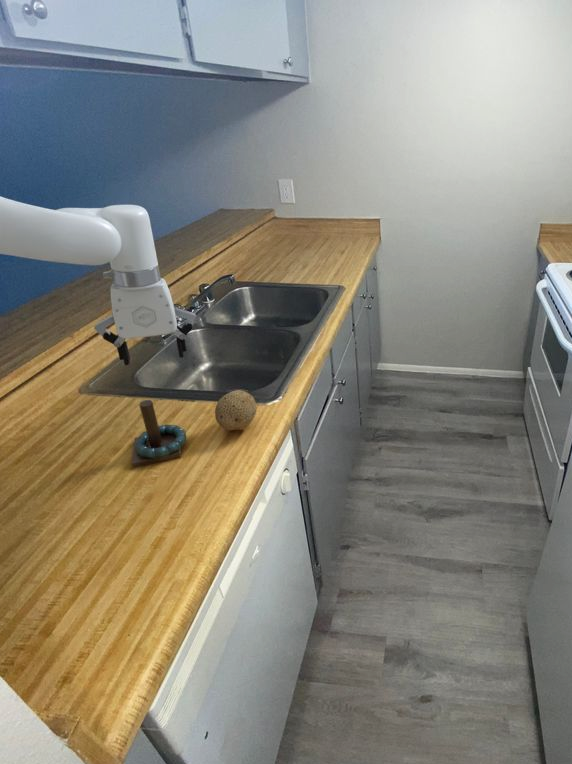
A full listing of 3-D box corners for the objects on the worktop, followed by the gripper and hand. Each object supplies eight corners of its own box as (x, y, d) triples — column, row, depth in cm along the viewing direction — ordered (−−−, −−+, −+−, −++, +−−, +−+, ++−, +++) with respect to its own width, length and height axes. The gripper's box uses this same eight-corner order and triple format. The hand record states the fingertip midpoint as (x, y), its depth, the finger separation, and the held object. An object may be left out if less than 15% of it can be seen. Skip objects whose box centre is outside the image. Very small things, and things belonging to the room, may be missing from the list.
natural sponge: (242, 445, 105) (236, 409, 100) (209, 436, 107) (202, 399, 103) (266, 423, 112) (262, 387, 108) (235, 414, 115) (229, 379, 110)
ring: (134, 464, 97) (132, 457, 96) (137, 436, 105) (135, 428, 104) (187, 452, 100) (185, 445, 99) (186, 426, 108) (184, 419, 107)
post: (133, 467, 97) (119, 419, 92) (135, 441, 105) (122, 396, 99) (180, 457, 101) (169, 410, 95) (179, 432, 108) (169, 387, 102)
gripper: (78, 286, 80) (102, 374, 87) (189, 278, 86) (203, 360, 94) (84, 273, 86) (107, 356, 93) (188, 266, 92) (201, 344, 100)
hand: (155, 358), depth 94 cm, fingers open, 9 cm apart
